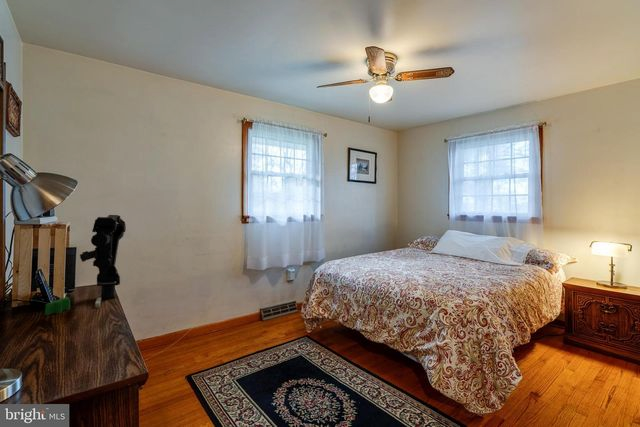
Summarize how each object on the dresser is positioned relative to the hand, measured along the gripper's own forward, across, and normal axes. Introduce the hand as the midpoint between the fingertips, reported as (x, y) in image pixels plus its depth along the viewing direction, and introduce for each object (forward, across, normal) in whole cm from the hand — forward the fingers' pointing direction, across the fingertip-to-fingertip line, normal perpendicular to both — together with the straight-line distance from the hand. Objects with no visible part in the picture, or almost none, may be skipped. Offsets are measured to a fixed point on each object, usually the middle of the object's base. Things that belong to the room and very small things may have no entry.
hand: (102, 278), depth 137 cm
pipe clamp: (+12, +3, -14) cm, 19 cm away
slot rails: (+12, -2, -9) cm, 15 cm away
